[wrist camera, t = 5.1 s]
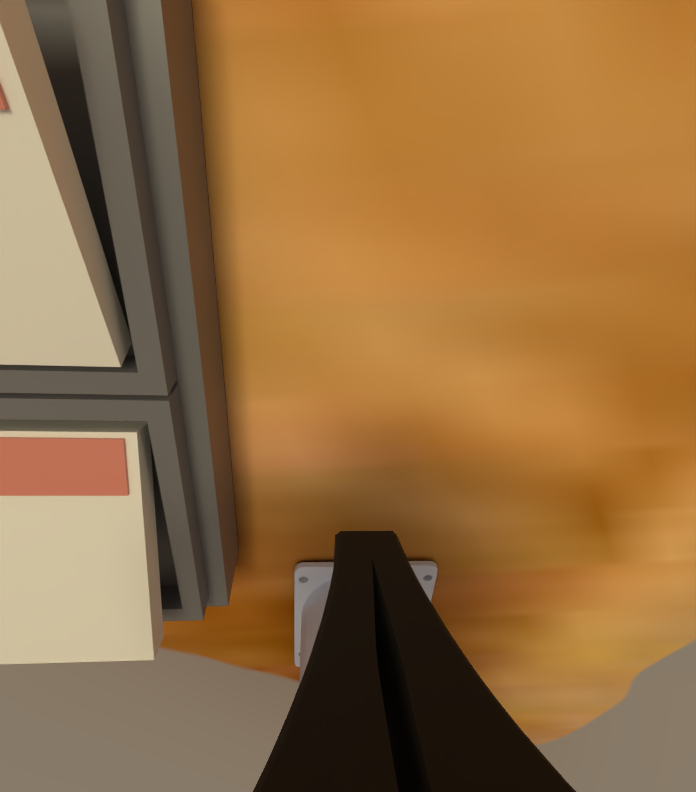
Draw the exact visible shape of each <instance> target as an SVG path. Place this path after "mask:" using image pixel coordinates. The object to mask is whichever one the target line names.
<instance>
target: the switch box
mask: <svg viewBox="0 0 696 792" xmlns="http://www.w3.org/2000/svg"><path fill="white" fill-rule="evenodd" d="M25 2H26V6H27V9H28V12H29V15H30V18H31V22H32V25H33V28H34V31H35V34H36V37H37V41H38V44H39V47H40V50H41V53H42V57H43V60H44V63H45V66H46V69H47V73H48V76H49V79H50V82H51V85H52V88H53V92H54V95H55V98H56V101H57V104H58V108H59V111H60V114H61V117H62V120H63V124H64V127H65V130H66V133H67V136H68V139H69V143H70V146H71V149H72V152H73V155H74V159H75V162H76V165H77V168H78V171H79V175H80V178H81V181H82V184H83V187H84V190H85V194H86V197H87V200H88V203H89V206H90V210H91V213H92V216H93V219H94V222H95V226H96V229H97V232H98V235H99V238H100V241H101V245H102V248H103V251H104V254H105V257H106V261H107V264H108V267H109V270H110V273H111V276H112V280H113V283H114V286H115V289H116V292H117V296H118V299H119V302H120V305H121V308H122V312H123V315H124V318H125V321H126V324H127V327H128V331H129V334H130V337H131V340H132V344H131V346H130V348H129V351H128V353H127V355H126V357H125V359H124V362H123V364H122V366H121V367H94V366H47V365H1V364H0V420H54V421H135V422H147V423H148V428H149V433H150V443H151V458H152V473H153V487H154V502H155V516H156V531H157V545H158V560H159V574H160V589H161V603H162V618H163V621H185V620H204V615H205V611H206V606H228V605H229V599H230V593H231V588H232V582H233V576H234V571H235V565H236V559H237V554H238V548H239V547H238V536H237V524H236V513H235V501H234V490H233V478H232V466H231V455H230V443H229V432H228V420H227V409H226V397H225V385H224V374H223V362H222V351H221V339H220V327H219V316H218V304H217V293H216V281H215V270H214V258H213V246H212V235H211V223H210V212H209V200H208V189H207V177H206V165H205V154H204V142H203V131H202V119H201V108H200V96H199V84H198V73H197V61H196V50H195V38H194V27H193V15H192V3H191V0H25Z"/></svg>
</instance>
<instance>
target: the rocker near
mask: <svg viewBox="0 0 696 792" xmlns="http://www.w3.org/2000/svg"><path fill="white" fill-rule="evenodd" d="M131 344H132V340H131V337H130V334H129V331H128V327H127V324H126V321H125V318H124V315H123V312H122V308H121V305H120V302H119V299H118V296H117V292H116V289H115V286H114V283H113V280H112V276H111V273H110V270H109V267H108V264H107V261H106V257H105V254H104V251H103V248H102V245H101V241H100V238H99V235H98V232H97V229H96V226H95V222H94V219H93V216H92V213H91V210H90V206H89V203H88V200H87V197H86V194H85V190H84V187H83V184H82V181H81V178H80V175H79V171H78V168H77V165H76V162H75V159H74V155H73V152H72V149H71V146H70V143H69V139H68V136H67V133H66V130H65V127H64V124H63V120H62V117H61V114H60V111H59V108H58V104H57V101H56V98H55V95H54V92H53V88H52V85H51V82H50V79H49V76H48V73H47V69H46V66H45V63H44V60H43V57H42V53H41V50H40V47H39V44H38V41H37V37H36V34H35V31H34V28H33V25H32V22H31V18H30V15H29V12H28V9H27V6H26V2H25V0H0V364H1V365H47V366H94V367H121V366H122V364H123V362H124V359H125V357H126V355H127V353H128V351H129V348H130V346H131Z"/></svg>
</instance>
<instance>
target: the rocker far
mask: <svg viewBox="0 0 696 792" xmlns="http://www.w3.org/2000/svg"><path fill="white" fill-rule="evenodd" d="M163 637H164V633H163V618H162V603H161V589H160V574H159V560H158V545H157V531H156V516H155V502H154V487H153V473H152V458H151V443H150V433H149V428H148V423H147V422H135V421H54V420H0V664H23V663H59V662H96V661H130V660H154V658H155V656H156V654H157V651H158V649H159V647H160V644H161V642H162V639H163Z"/></svg>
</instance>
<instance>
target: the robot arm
mask: <svg viewBox="0 0 696 792" xmlns="http://www.w3.org/2000/svg"><path fill="white" fill-rule="evenodd" d="M437 572H438V569H437V565H436V563H435V562H433V561H408V559H407V557H406V555H405V553H404V551H403V549H402V547H401V544H400V542H399V540H398V537H397V535H396V534H395V533H394V532H393V531H340V532H339V533H338V534H336V535H335V550H334V562H302V563H299V564H297V565H296V566H295V570H294V658H295V665H296V666H297V667H300V683H299V688H298V690H297V693H296V695H295V698H294V701H293V703H292V706H291V708H290V711H289V713H288V715H287V718H286V720H285V722H284V725H283V727H282V729H281V732H280V734H279V736H278V739H277V741H276V743H275V746H274V748H273V750H272V753H271V755H270V757H269V759H268V761H267V763H266V766H265V768H264V770H263V772H262V774H261V776H260V778H259V780H258V782H257V784H256V787H255V789H254V791H253V792H576V791H575V790H574V789H573V788H572V787H571V786H570V785H569V784H568V783H567V782H566V781H565V780H564V778H563V777H562V776H561V775H560V774H559V773H558V771H557V770H556V769H555V768H554V767H553V766H552V765H551V763H550V762H549V761H548V760H547V759H546V758H545V757H544V755H543V754H542V753H541V752H540V751H539V750H538V749H537V747H536V746H535V745H534V744H533V743H532V742H531V741H530V739H529V738H528V737H527V736H526V735H525V734H524V733H523V731H522V730H521V729H520V728H519V727H518V725H517V724H516V723H515V722H514V720H513V719H512V718H511V717H510V715H509V714H508V713H507V712H506V710H505V709H504V708H503V707H502V705H501V704H500V703H499V702H498V700H497V699H496V698H495V696H494V695H493V694H492V692H491V691H490V690H489V688H488V687H487V686H486V685H485V683H484V682H483V681H482V679H481V678H480V676H479V675H478V674H477V672H476V671H475V670H474V668H473V667H472V665H471V664H470V662H469V661H468V660H467V658H466V657H465V655H464V654H463V652H462V651H461V649H460V648H459V646H458V645H457V643H456V642H455V640H454V639H453V637H452V636H451V634H450V633H449V631H448V630H447V628H446V626H445V625H444V623H443V622H442V620H441V618H440V617H439V615H438V613H437V612H436V610H435V608H434V607H433V605H432V603H431V599H432V595H433V590H434V586H435V581H436V577H437Z"/></svg>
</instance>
